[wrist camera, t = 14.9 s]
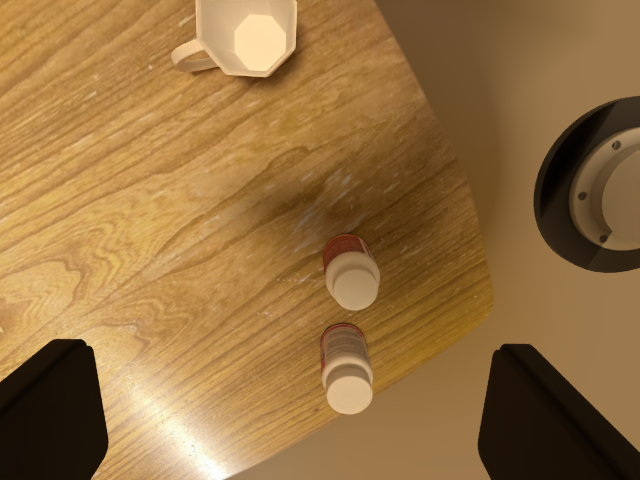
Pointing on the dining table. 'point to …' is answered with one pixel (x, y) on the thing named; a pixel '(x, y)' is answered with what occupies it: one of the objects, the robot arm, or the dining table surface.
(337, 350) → the pill bottle
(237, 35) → the cup
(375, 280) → the pill bottle
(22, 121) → the dining table surface
